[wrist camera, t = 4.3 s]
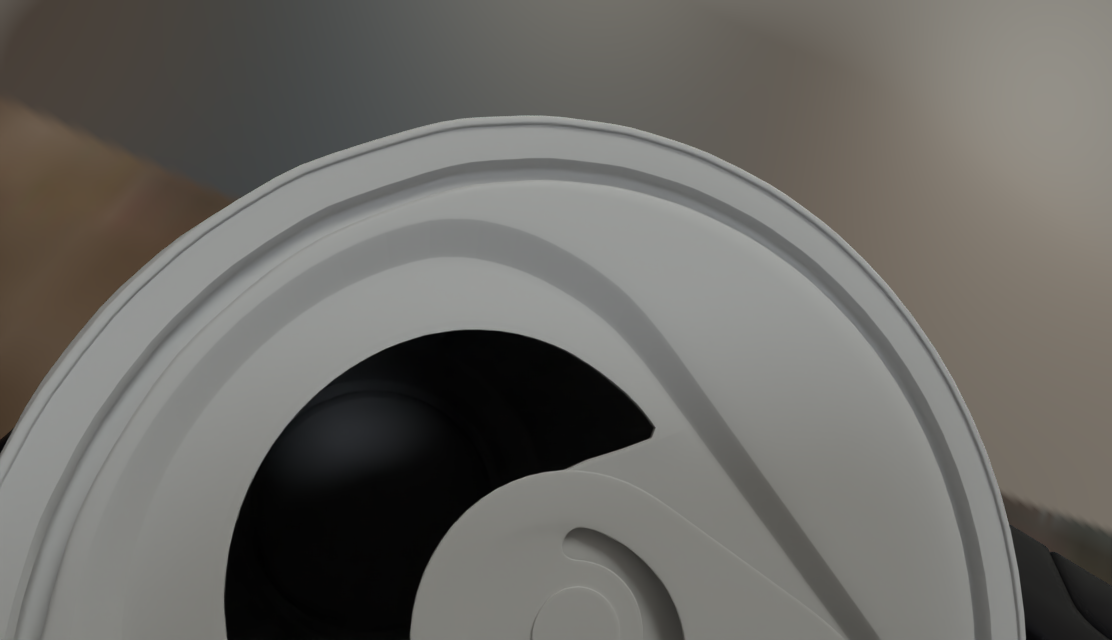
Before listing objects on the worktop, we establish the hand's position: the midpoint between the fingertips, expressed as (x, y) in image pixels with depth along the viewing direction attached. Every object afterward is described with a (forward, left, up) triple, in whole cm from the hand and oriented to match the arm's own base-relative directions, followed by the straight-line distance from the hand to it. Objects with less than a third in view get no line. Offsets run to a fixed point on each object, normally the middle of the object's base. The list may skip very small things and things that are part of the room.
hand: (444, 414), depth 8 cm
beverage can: (-1, -1, -8) cm, 8 cm away
